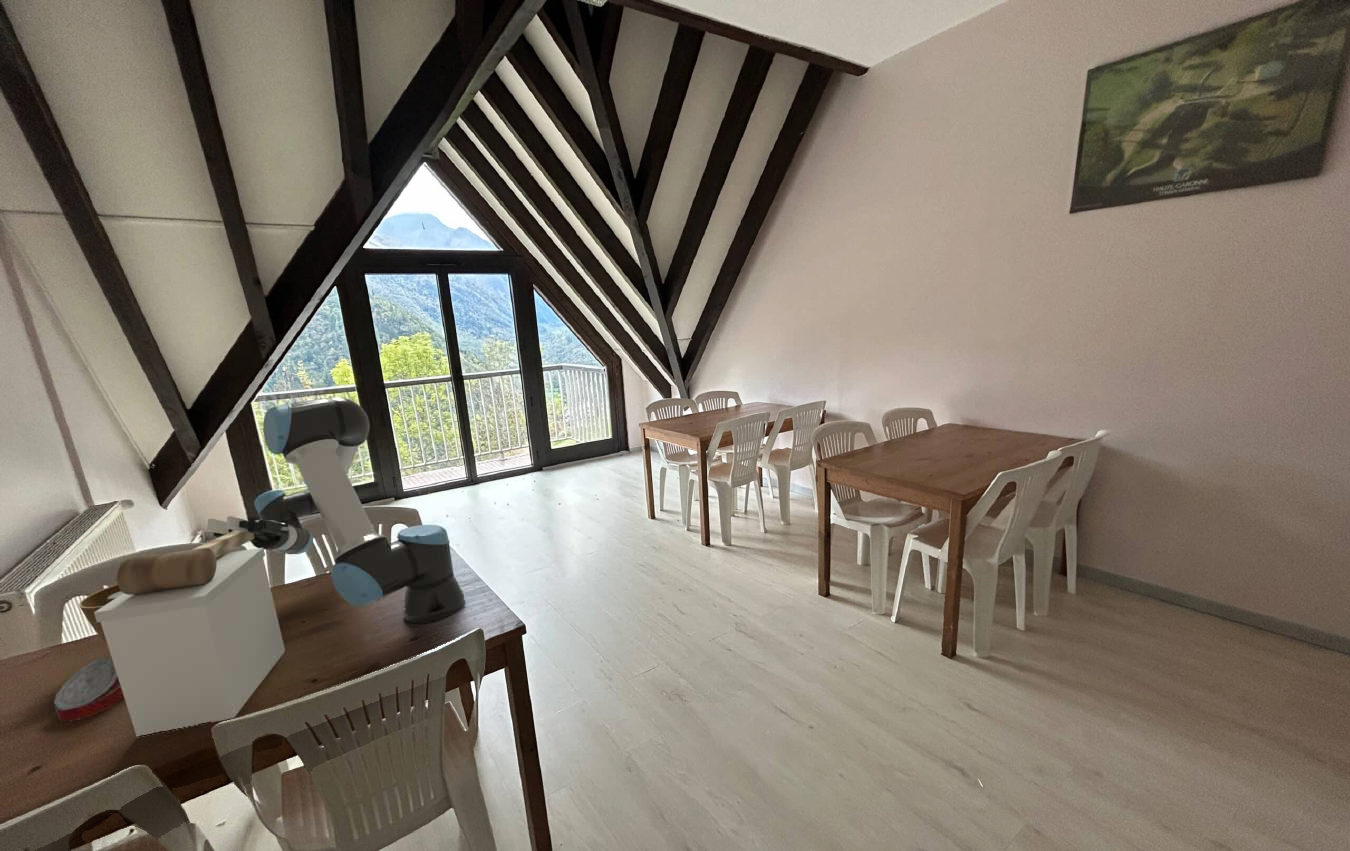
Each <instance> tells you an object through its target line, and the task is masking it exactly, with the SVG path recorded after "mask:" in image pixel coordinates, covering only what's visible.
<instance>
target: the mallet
mask: <svg viewBox="0 0 1350 851" xmlns="http://www.w3.org/2000/svg"><path fill="white" fill-rule="evenodd" d="M253 539H254V534H253V533H251V532H248V529H247V532H241V531H236V530H234V531H232V532H230V533H228V534H225V535H223V536H221V537H216V538H214V539H212V540H211V541H208V542H206V543H204V544H202V545H199V546H197V547H195V548H193V549H188V550H181V551H173V552H166V553H165V552H164V553H158V554H157V553H156V554H150V555H144V556H135V557H130V558H127V559H125V560H124V561H123V562H122V564H120V566H119V568H118V570H117V574H116V583H117V584H118V587H119V589H120V590H121V591H122V592H123V593H125V594H127V595H132V594H139V593H146V592H153V591H159V590H166V589H173V588H180V587H186V586H193V585H200V584H206V583H208V582H210V581H211V580H212V578H213V577H214V575H215V572H216V566H217V563H216V558H217V557H219V556H221V555H223V554H225V553H228V552H232V551H234V550H235V549H237V548H239V547H241V546H243V545H244V544H246V543H249V542H250V541H251V540H253Z"/></svg>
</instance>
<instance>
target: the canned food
mask: <svg viewBox="0 0 1350 851" xmlns="http://www.w3.org/2000/svg"><path fill="white" fill-rule="evenodd" d="M120 699H121V700H123V699H124V695H123V692H122V688H121V685H120V682H119V679H118V676H117V673H116V669H115V666H114V663H113V660H112V657H111V656H110V657H109V656H108V657H100V658H98V659H95V660H94V661H92V662H90V663H88V664H86V665H84V666H83V667H81V668H80V669H79V670H78V671H76V672H75V673H74V674H72V675H71V676H70V678H69V679H68V680H66V681H65V682H64V683H63V684H62V686H61V687H60V689H59V690H58V692H57V693H56V694H55V699H54V701H53V703H54V709H55V711H56V715H57V716H58V719H59V721H61V720H62V722H65V721H67V722H71V721H70V720H75V721H77V720H76V719H78V718H83V717H86V716H89V715H92V714H94V713H96V712H99V711H101V710H103V709H105V708H107V707H109V706H111V705H113V704H114V703H116V702H117V703H119V702H120V701H121V700H120ZM119 700H120V701H119ZM118 701H119V702H118ZM117 703H116V704H117ZM114 705H115V704H114ZM114 705H113V706H114ZM111 707H112V706H111ZM109 708H110V707H109ZM107 709H108V708H107ZM105 710H106V709H105ZM103 711H104V710H103ZM101 712H102V711H101ZM99 713H100V712H99ZM94 715H95V714H94ZM92 716H93V715H92ZM89 717H90V716H89ZM86 718H87V717H86ZM83 719H84V718H83Z"/></svg>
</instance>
